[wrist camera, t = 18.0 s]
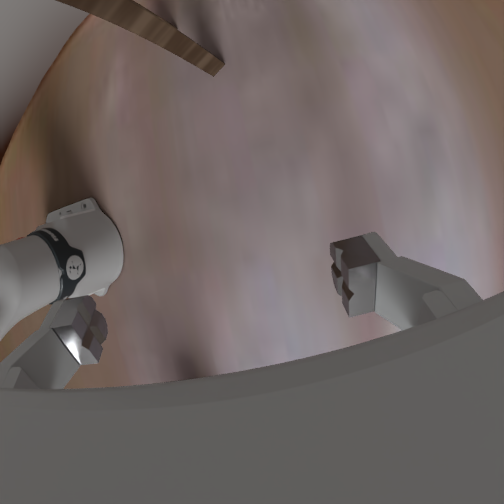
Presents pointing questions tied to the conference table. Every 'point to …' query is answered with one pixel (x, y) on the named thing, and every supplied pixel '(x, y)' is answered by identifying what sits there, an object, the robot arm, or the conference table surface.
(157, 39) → the stand
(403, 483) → the robot arm
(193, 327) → the conference table surface
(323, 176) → the conference table surface
